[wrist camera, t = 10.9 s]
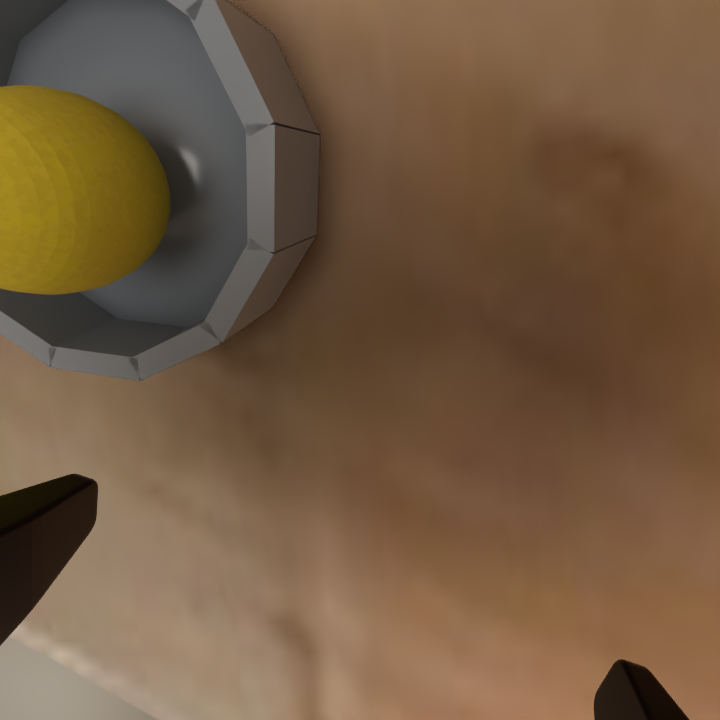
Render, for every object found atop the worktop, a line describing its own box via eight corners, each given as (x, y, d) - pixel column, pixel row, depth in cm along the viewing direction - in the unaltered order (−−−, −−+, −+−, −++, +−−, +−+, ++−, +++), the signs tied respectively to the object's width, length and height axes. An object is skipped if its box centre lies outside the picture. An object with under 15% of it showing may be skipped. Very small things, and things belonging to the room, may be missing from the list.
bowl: (377, 258, 19) (352, 283, 15) (122, 378, 23) (44, 425, 18) (202, -120, 16) (107, -223, 12) (-57, 94, 20) (-196, 74, 16)
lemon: (176, 295, 20) (-1, 371, 12) (53, 212, 19) (-201, 240, 12) (238, 163, 17) (68, 159, 10) (100, 69, 17) (-175, -4, 10)
